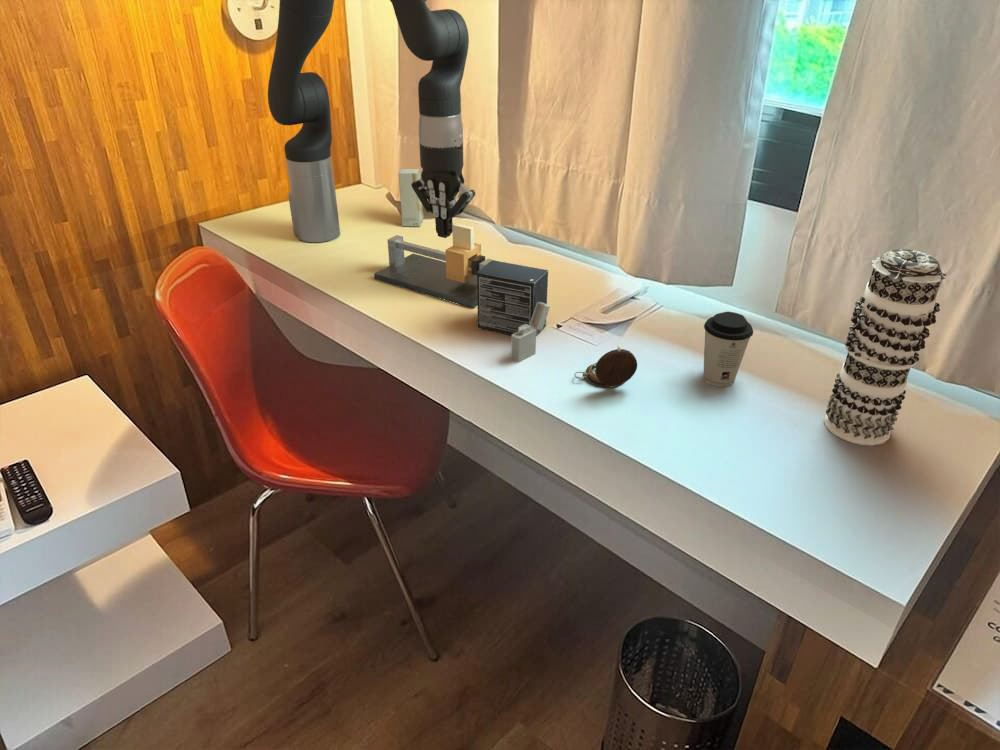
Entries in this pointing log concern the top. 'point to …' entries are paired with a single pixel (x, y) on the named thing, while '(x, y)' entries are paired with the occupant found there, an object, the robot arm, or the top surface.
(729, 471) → the top surface
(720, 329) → the coffee cup
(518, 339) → the lighter
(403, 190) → the skincare box
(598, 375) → the compass
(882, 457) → the top surface
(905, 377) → the decorative candle
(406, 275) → the linear slide rail
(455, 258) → the orange slider carriage
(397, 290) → the top surface
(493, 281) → the small box
